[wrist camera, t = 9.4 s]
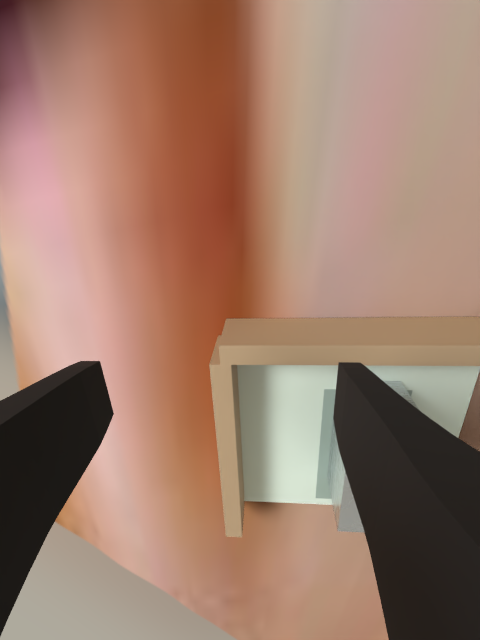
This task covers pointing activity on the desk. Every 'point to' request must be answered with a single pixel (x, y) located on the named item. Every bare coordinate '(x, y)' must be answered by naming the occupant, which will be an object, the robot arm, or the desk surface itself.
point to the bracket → (338, 480)
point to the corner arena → (321, 394)
